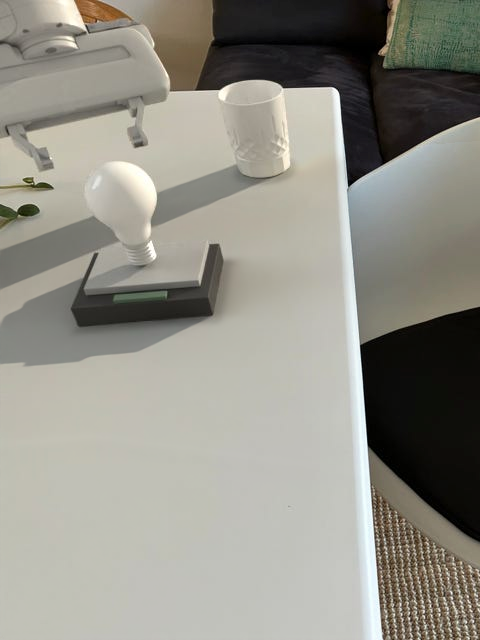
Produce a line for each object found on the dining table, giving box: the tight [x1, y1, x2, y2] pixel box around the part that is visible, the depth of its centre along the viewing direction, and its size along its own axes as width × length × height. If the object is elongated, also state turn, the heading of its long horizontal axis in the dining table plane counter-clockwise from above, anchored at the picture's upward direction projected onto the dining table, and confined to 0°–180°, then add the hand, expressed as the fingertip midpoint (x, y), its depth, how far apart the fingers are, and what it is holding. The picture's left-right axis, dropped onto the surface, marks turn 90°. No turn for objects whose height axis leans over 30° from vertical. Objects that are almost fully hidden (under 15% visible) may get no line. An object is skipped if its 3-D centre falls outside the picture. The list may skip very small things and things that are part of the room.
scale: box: [70, 239, 224, 327], centre depth 80 cm, size 13×10×3 cm
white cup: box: [216, 79, 291, 179], centre depth 99 cm, size 8×8×10 cm
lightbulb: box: [83, 160, 158, 266], centre depth 76 cm, size 6×6×11 cm
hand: (94, 156), depth 80 cm, fingers open, 8 cm apart
